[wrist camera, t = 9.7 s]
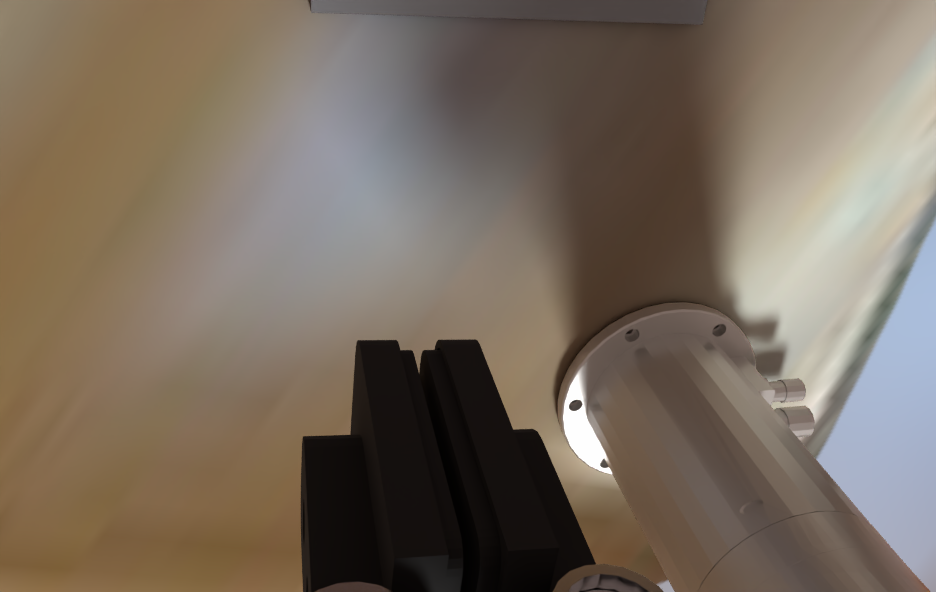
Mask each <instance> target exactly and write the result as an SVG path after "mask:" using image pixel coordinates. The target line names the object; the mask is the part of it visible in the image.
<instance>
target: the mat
mask: <svg viewBox="0 0 936 592" xmlns="http://www.w3.org/2000/svg"><path fill="white" fill-rule="evenodd" d="M706 5H707V0H311V13H340V14H372V15H405V16H438V17H471V18H504V19H536V20H569V21H602V22H635V23H667V24H700V25H702V24H703V19H704V15H705V10H706Z"/></svg>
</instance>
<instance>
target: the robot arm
mask: <svg viewBox="0 0 936 592" xmlns="http://www.w3.org/2000/svg"><path fill="white" fill-rule="evenodd" d="M805 393H806V389H805V385H804V383H803V381H802V380H800V379H799V378H798V379H784V380H778V381H772V382H769V381H768V380H767V379H766V378H763V377H762V375H761V374H760V373H759V372H758V371H757V370H756V361H755V355H754V352H753V349H752V346H751V343H750V342H749V340H748V339H747V337H746V336H745V334H744V333H743V331H742V330H741V329H740V328H739V327H738V326H737V325H736V324H735V323H734V322H733V321H732V320H731V319H730V318H729V317H727V316H726V315H724V314H723V313H721V312H719V311H718V310H716V309H713V308H710V307H707V306H704V305H701V304H694V303H687V302H678V303H664V304H659V305H655V306H650V307H646V308H643V309H641V310H638V311H635V312H633V313H630V314H628V315H626V316H624V317H622V318H620V319H619V320H617V321H615V322H613V323H612V324H610V325H608V326H607V327H606V328H605V329H603V330H602V331H601V332H600V333H598V334H597V335H596V336H594V337H593V338H592V339H591V340H590V341H589V342H588V343H587V344H586V346H585V347H584V348H583V349H582V350H581V351H580V352H579V353H578V355H577V356H576V358H575V359H574V361H573V362H572V364H571V365H570V367H569V368H568V370H567V373H566V375H565V377H564V379H563V382H562V384H561V388H560V392H559V397H558V419H559V423H560V427H561V431H562V433H563V435H564V437H565V439H566V441H567V443H568V445H569V447H570V448H571V449H572V451H573V452H574V453H575V455H576V456H577V457H578V458H579V459H581V460H582V461H583V462H584V463H586V464H587V465H588V466H590V467H592V468H594V469H596V470H598V471H600V472H604V473H608V474H612V475H613V476H614V478H615V480H616V482H617V483H618V485H619V487H620V489H621V491H622V493H623V495H624V497H625V499H626V501H627V502H628V504H629V506H630V508H631V510H632V512H633V514H634V516H635V518H636V519H637V521H638V523H639V525H640V527H641V529H642V531H643V533H644V535H645V536H646V538H647V540H648V542H649V544H650V546H651V548H652V550H653V552H654V554H655V555H656V557H657V559H658V561H659V563H660V565H661V567H662V569H663V571H664V572H665V574H666V576H667V578H668V580H669V582H670V584H671V586H672V587H673V589H674V591H675V592H930V590H929V589H928V588H927V587H926V586H925V585H924V584H923V583H922V582H921V581H920V579H919V578H918V577H917V576H916V575H915V574H914V573H913V572H912V571H911V570H910V568H909V567H908V566H907V565H906V564H905V563H904V562H903V560H902V559H901V558H900V557H899V556H898V555H897V554H896V552H895V551H894V550H893V549H892V548H891V547H890V545H889V544H888V543H887V542H886V541H885V540H884V538H883V537H882V536H881V535H880V534H879V533H878V531H877V530H876V529H875V528H874V527H873V526H872V525H871V524H870V523H869V521H868V520H867V519H866V518H865V517H864V516H863V514H862V513H861V512H860V511H859V510H858V508H857V507H856V506H855V505H854V504H853V503H852V501H851V500H850V499H849V498H848V497H847V496H846V494H845V493H844V492H843V491H842V490H841V488H840V487H839V486H838V485H837V484H836V482H835V481H834V480H833V479H832V478H831V477H830V475H829V474H828V473H827V472H826V471H825V470H824V468H823V467H822V466H821V465H820V464H819V462H818V461H817V460H816V459H815V458H814V457H813V455H812V454H811V453H810V452H809V451H808V449H807V448H806V447H805V446H804V445H803V444H802V442H801V441H800V440H799V439H798V438H797V437H808V436H810V435H812V433H813V431H814V424H815V422H814V417H813V414H812V412H811V411H810V409H809V408H807V407H806V406H796V407H784V408H776V409H775V410H774V409H773V408H772V407H771V404H772V402H793V401H801V400H803V399H804V397H805ZM301 547H302V574H303V592H663V591H662V589H660V587H659V586H657V585H656V584H654V583H653V582H652V581H650V580H649V579H647V578H646V577H644V576H643V575H641V574H638V573H636V572H634V571H631V570H629V569H626V568H624V567H619V566H613V565H607V564H596V563H595V561H594V558H593V556H592V554H591V552H590V549H589V547H588V545H587V542H586V540H585V538H584V535H583V533H582V531H581V528H580V526H579V524H578V522H577V519H576V517H575V515H574V512H573V510H572V508H571V505H570V503H569V501H568V498H567V496H566V494H565V492H564V489H563V487H562V485H561V482H560V480H559V478H558V475H557V473H556V471H555V468H554V466H553V464H552V462H551V459H550V457H549V455H548V452H547V450H546V448H545V445H544V443H543V441H542V439H541V437H540V435H539V434H538V432H537V431H535V430H534V429H519V430H513V428H512V426H511V423H510V421H509V418H508V415H507V413H506V410H505V408H504V405H503V403H502V400H501V398H500V395H499V393H498V390H497V387H496V385H495V382H494V380H493V377H492V375H491V372H490V370H489V367H488V365H487V362H486V359H485V357H484V354H483V352H482V349H481V347H480V344H479V342H478V341H477V340H438V341H437V343H436V346H435V350H424V351H423V352H422V356H421V363H420V372H418V368H417V364H416V361H415V357H414V353H413V351H412V350H400V348H399V344H398V341H397V340H358V341H357V345H356V354H355V370H354V386H353V402H352V418H351V435H334V436H303V441H302V467H301Z"/></svg>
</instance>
